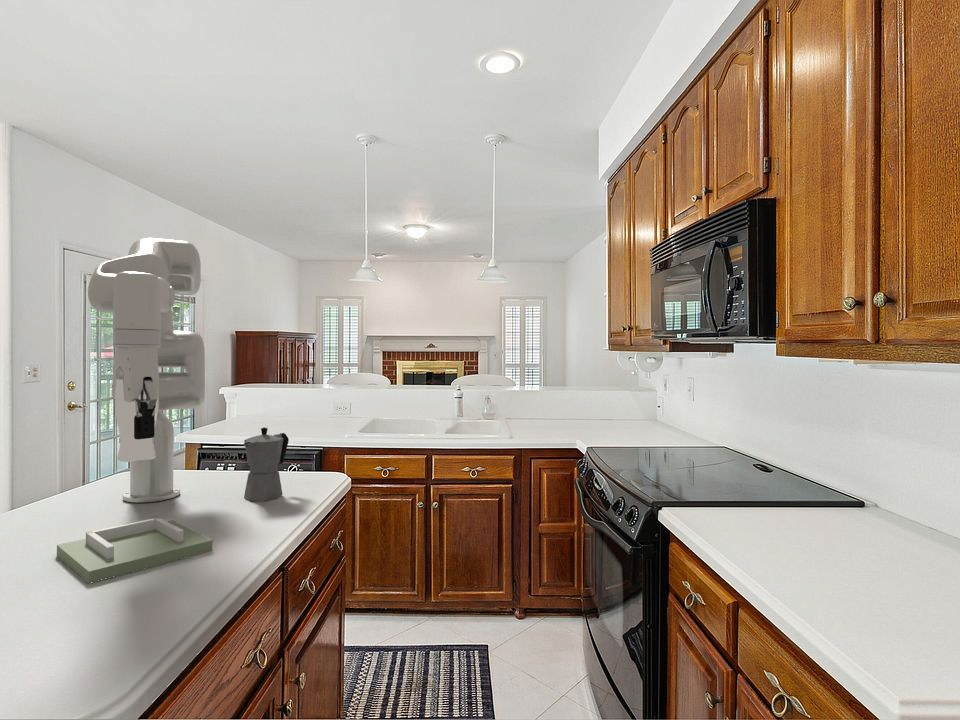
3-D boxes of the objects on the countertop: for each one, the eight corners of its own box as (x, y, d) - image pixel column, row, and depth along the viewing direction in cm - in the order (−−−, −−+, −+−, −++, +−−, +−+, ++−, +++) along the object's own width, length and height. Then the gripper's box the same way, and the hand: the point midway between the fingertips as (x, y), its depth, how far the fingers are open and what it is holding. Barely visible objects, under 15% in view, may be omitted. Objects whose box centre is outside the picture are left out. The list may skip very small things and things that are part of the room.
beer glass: (137, 463, 100) (138, 379, 99) (105, 461, 101) (105, 378, 101) (167, 456, 107) (167, 378, 106) (135, 454, 108) (136, 377, 108)
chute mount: (56, 555, 102) (56, 534, 102) (172, 529, 118) (172, 510, 118) (88, 583, 91) (88, 559, 91) (212, 550, 106) (212, 529, 106)
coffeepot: (259, 505, 136) (259, 432, 136) (229, 501, 140) (230, 429, 139) (301, 491, 150) (301, 424, 150) (273, 487, 154) (274, 422, 153)
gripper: (97, 339, 106) (97, 433, 106) (132, 339, 95) (131, 444, 95) (141, 339, 112) (141, 429, 112) (178, 340, 101) (177, 439, 101)
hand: (136, 435), depth 104 cm, fingers closed on beer glass, 6 cm apart
